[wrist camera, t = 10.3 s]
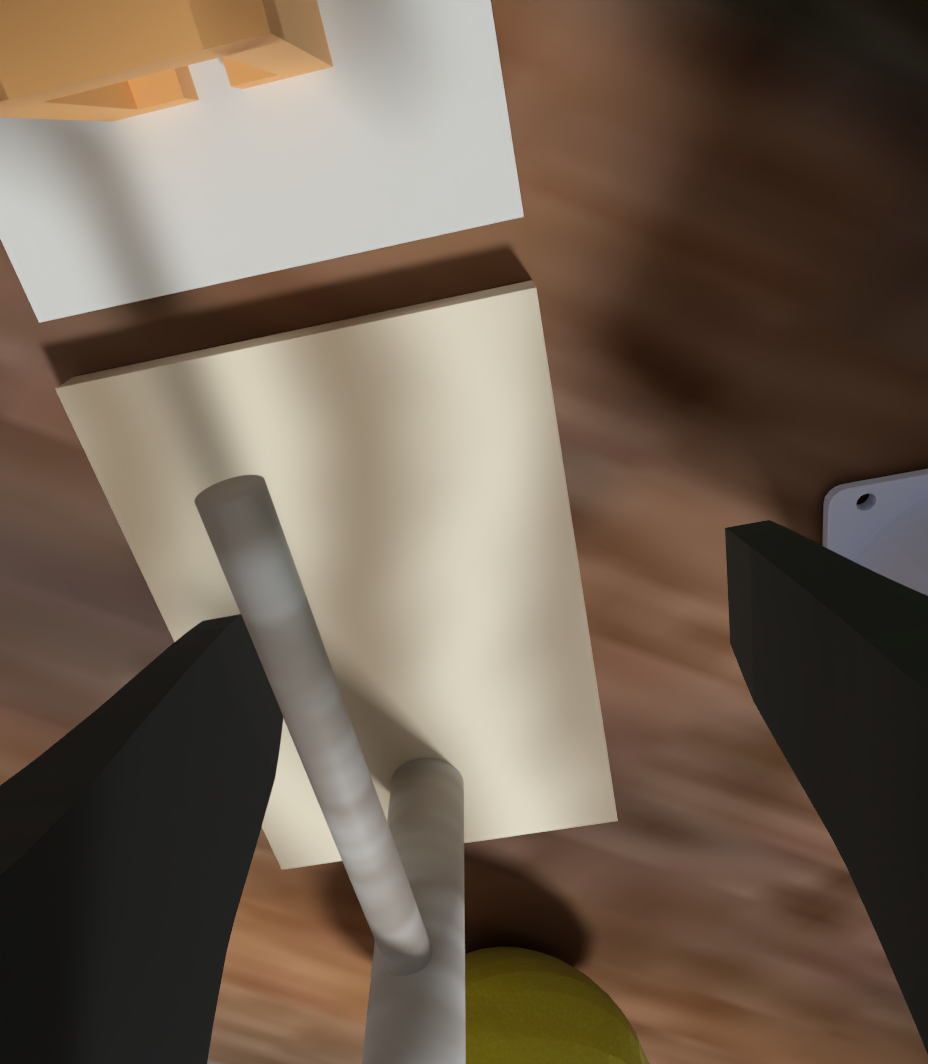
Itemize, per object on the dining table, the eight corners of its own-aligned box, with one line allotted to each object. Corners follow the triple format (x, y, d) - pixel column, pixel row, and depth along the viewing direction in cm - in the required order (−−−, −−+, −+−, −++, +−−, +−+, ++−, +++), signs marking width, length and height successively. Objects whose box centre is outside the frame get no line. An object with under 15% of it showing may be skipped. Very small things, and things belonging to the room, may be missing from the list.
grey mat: (440, -315, 14) (440, -327, 13) (522, 215, 18) (523, 216, 17) (-164, -143, 15) (-179, -150, 14) (47, 319, 19) (39, 322, 18)
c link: (311, -25, 15) (231, -110, 10) (333, 66, 16) (271, 33, 11) (80, 35, 16) (-116, -15, 10) (112, 122, 16) (-55, 115, 11)
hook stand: (532, 280, 18) (601, 415, 10) (612, 798, 27) (688, 1127, 18) (73, 376, 19) (-249, 579, 11) (287, 846, 28) (207, 1180, 19)
